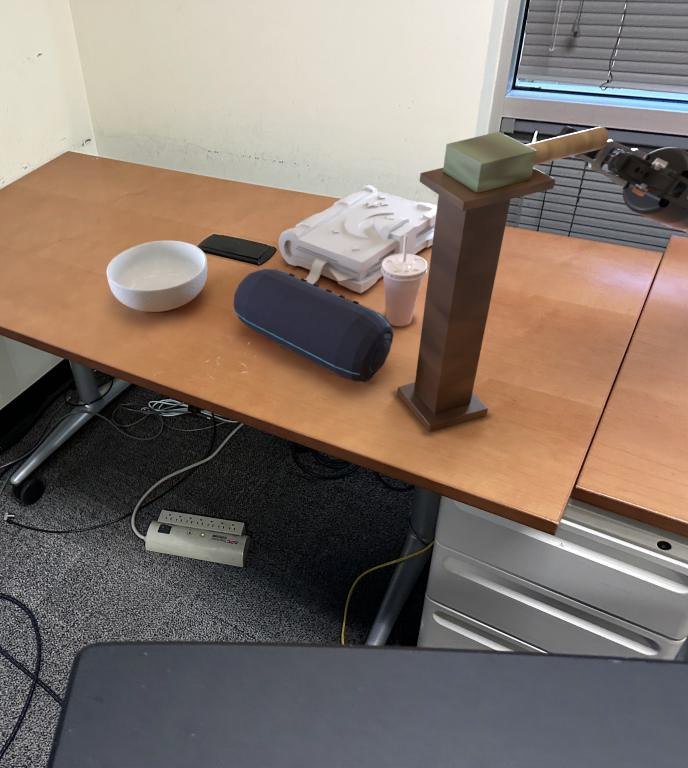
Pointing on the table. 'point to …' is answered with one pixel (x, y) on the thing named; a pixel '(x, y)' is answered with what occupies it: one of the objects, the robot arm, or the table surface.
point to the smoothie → (402, 285)
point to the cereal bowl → (158, 275)
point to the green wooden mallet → (512, 157)
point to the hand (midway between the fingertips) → (588, 148)
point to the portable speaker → (315, 323)
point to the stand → (459, 296)
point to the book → (358, 237)
